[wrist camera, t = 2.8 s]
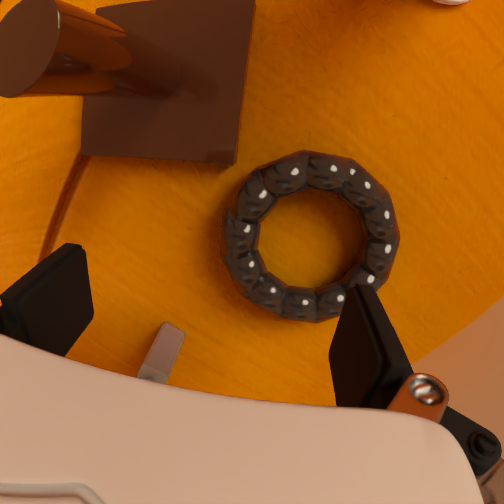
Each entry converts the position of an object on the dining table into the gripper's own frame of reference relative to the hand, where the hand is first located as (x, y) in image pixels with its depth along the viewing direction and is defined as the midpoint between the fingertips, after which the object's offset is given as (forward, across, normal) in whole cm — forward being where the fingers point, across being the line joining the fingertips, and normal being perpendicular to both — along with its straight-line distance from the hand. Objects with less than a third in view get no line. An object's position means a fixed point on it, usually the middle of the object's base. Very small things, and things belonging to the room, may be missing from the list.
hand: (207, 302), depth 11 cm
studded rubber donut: (+7, -4, 0) cm, 8 cm away
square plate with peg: (+8, +5, -8) cm, 12 cm away
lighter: (+8, +5, +11) cm, 15 cm away
